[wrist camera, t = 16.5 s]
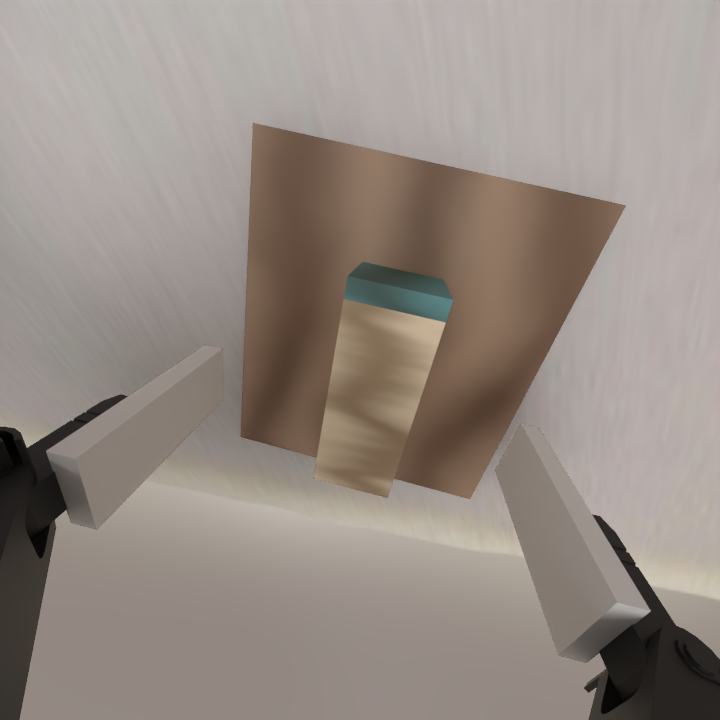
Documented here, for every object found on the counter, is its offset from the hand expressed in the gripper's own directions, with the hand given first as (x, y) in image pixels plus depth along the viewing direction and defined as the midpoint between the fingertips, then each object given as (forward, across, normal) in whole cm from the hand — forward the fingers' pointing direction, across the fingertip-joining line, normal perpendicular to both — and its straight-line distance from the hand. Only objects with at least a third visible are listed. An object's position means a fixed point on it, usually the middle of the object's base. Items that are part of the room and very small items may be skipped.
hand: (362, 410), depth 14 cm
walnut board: (+7, 0, 0) cm, 7 cm away
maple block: (+4, 0, -7) cm, 8 cm away
